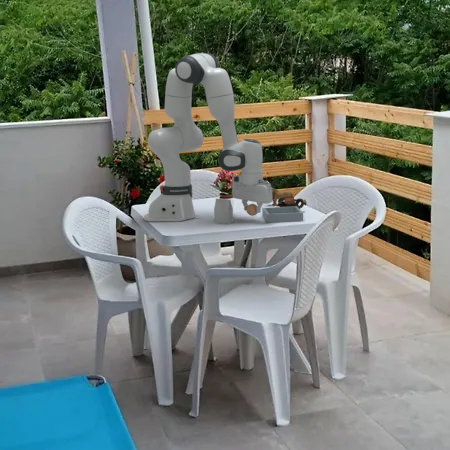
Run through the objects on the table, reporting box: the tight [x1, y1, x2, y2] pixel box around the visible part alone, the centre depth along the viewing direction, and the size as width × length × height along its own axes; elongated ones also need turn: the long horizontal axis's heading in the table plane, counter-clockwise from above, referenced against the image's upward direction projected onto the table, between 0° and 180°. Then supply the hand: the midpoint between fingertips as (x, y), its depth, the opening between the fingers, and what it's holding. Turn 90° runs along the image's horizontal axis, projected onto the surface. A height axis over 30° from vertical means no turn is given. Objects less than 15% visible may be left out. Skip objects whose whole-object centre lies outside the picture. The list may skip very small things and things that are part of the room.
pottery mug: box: [276, 195, 305, 210], centre depth 341 cm, size 12×10×8 cm
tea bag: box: [213, 198, 234, 225], centre depth 322 cm, size 4×7×10 cm, turn 60°
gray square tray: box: [261, 206, 304, 224], centre depth 328 cm, size 15×15×4 cm
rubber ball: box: [245, 203, 258, 217], centre depth 324 cm, size 5×5×5 cm
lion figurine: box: [271, 186, 296, 207], centre depth 357 cm, size 15×5×9 cm, turn 96°
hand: (252, 211), depth 324 cm, fingers closed on rubber ball, 5 cm apart
